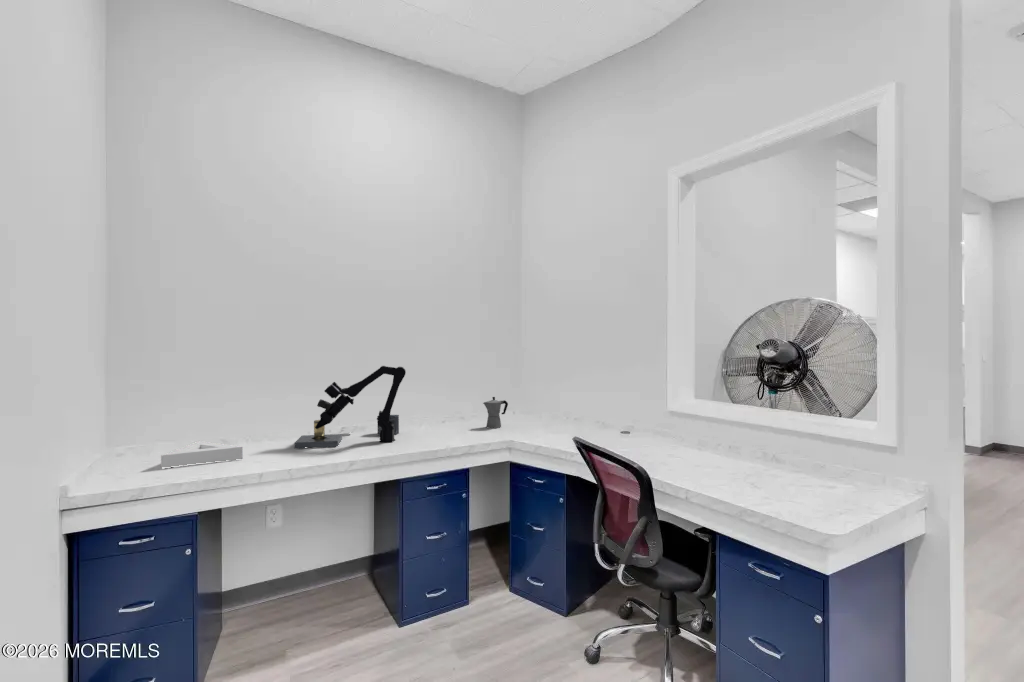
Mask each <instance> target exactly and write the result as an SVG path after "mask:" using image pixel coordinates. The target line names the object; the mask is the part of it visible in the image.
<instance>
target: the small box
mask: <svg viewBox="0 0 1024 682" xmlns="http://www.w3.org/2000/svg"><path fill="white" fill-rule="evenodd" d="M378 416H379V415H377V417H378ZM377 417H376V418H377ZM399 417H400V415H399V414H390V419H389V420H390V421H391V422H392V423H393V428H392V429H394V436H396V435H398V434H399V433H400V425H399V423H400V422H399V421H400V419H399ZM381 429H382V428H381V427H380V426H379V425H378V424H377V434H380V432H381Z"/></svg>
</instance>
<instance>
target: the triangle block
mask: <svg viewBox="0 0 1024 682" xmlns="http://www.w3.org/2000/svg"><path fill="white" fill-rule="evenodd" d="M243 448H244V447H243V446H240V445H239V446H238V445H234V444H233V445H231V444H225V443H224V444H223V443H218V442H209V441H203V440H198V441H196V442H192V443H190V444H187V445H185V446H182V447H179V448H177V449H174V450H172V451H169V452H167V453H164V454H161V455H160V468H161V467H171V466H179V465H187V464H196V463H206V462H215V461H226V460H236V459H244V458H243V457H244V455H243ZM236 461H237V460H236Z"/></svg>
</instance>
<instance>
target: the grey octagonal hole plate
mask: <svg viewBox="0 0 1024 682" xmlns="http://www.w3.org/2000/svg"><path fill="white" fill-rule="evenodd" d="M341 440H342V441H343V433H334V434H333V433H332V434H325V439H317V440H315V439H314V434H311V435H310V434H309V435H307V434H306V435H301V436H300V437H298V438H297V440H296V441H294V449H295V448H299V449H306V448H305V447H323V448H337V447H336V446H338V445H340V444H341V443H342V441H341ZM340 442H341V443H340ZM339 443H340V444H339ZM338 447H339V446H338Z"/></svg>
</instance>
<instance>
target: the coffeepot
mask: <svg viewBox="0 0 1024 682" xmlns="http://www.w3.org/2000/svg"><path fill="white" fill-rule="evenodd" d="M482 405H484V406H485V409H486V410H487V411H486V412H487V415H488V416H487V422H486V428H487V427H488V428H487V429H501V428H502V422H501V418H500V412H501V407H502V405H504V408H503V412H501V415H505V414H506V411H507V409H508V405H509V403H508V401H506V399H505V400H498V399H497V400H496V397H495V396H492V399H491V400H488V401H484V402H482ZM500 427H501V428H500Z"/></svg>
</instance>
